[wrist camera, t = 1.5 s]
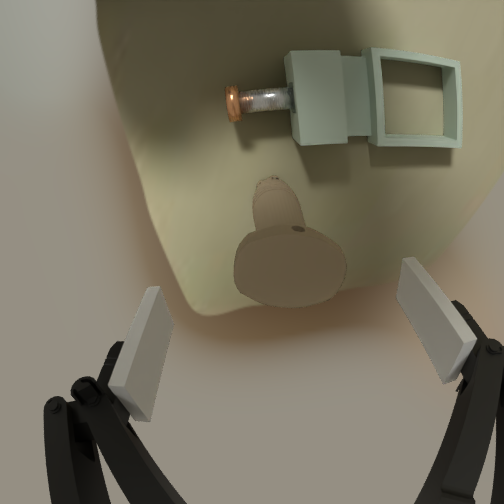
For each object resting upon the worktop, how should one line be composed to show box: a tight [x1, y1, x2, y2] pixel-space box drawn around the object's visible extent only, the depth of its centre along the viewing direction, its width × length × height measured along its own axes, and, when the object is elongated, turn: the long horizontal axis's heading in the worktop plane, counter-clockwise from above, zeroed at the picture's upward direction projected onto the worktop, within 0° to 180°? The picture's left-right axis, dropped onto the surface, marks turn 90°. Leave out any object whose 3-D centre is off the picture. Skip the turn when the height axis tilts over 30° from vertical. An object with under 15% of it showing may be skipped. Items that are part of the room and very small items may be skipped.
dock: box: [284, 47, 463, 148], centre depth 23 cm, size 10×18×5 cm, turn 97°
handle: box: [234, 175, 347, 308], centre depth 23 cm, size 5×6×15 cm
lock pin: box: [225, 85, 296, 122], centre depth 23 cm, size 3×7×3 cm, turn 97°
